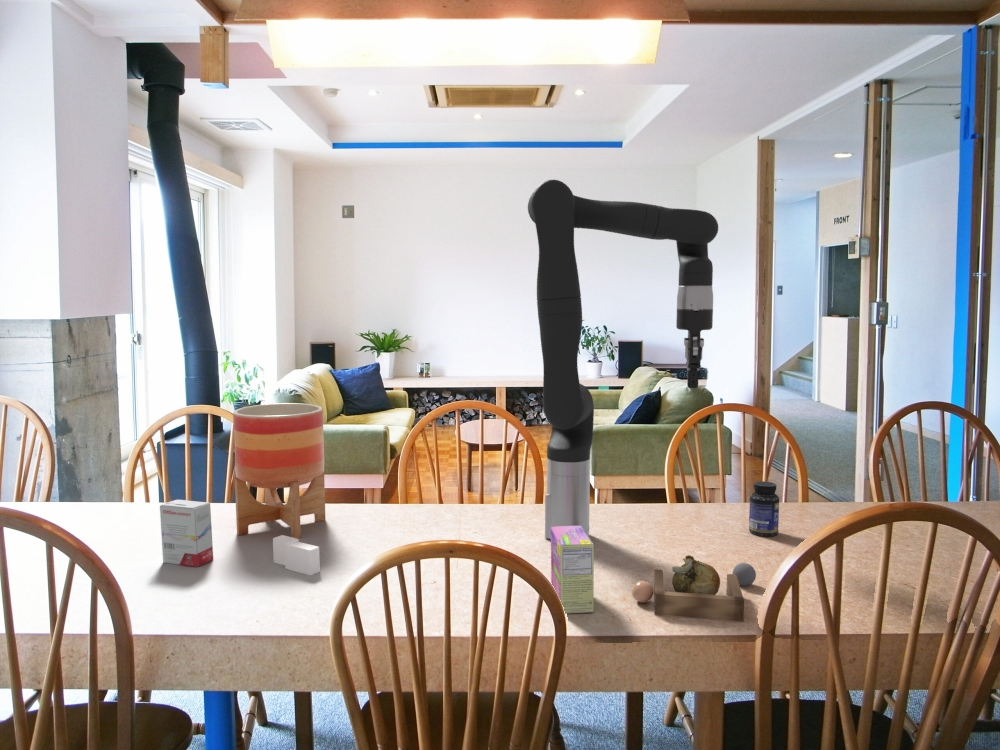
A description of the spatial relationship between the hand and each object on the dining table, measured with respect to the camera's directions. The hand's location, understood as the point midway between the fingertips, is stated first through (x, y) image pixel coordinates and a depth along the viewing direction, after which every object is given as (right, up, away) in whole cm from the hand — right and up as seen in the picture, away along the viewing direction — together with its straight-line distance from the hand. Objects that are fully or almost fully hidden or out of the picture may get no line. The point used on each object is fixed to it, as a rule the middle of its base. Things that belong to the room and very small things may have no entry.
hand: (692, 387), depth 165 cm
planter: (-91, -32, +7) cm, 96 cm away
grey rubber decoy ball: (+2, -35, -27) cm, 45 cm away
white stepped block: (-81, -35, -17) cm, 90 cm away
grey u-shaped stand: (-8, -36, -35) cm, 51 cm away
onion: (-8, -36, -34) cm, 50 cm away
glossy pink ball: (-17, -36, -35) cm, 53 cm away
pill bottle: (+16, -32, +3) cm, 36 cm away
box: (-30, -36, -34) cm, 58 cm away
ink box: (-103, -34, -15) cm, 110 cm away
